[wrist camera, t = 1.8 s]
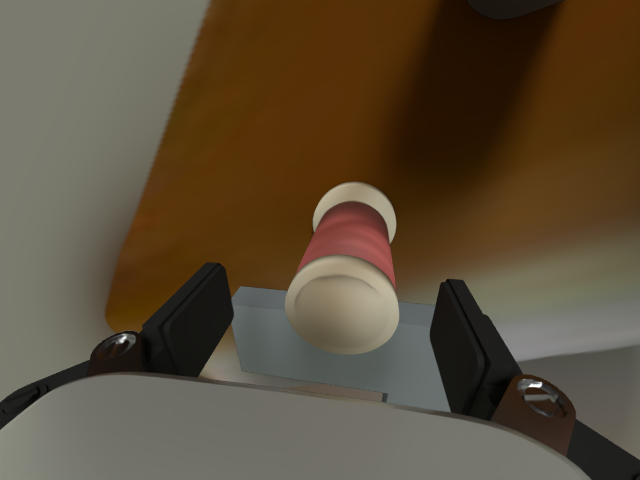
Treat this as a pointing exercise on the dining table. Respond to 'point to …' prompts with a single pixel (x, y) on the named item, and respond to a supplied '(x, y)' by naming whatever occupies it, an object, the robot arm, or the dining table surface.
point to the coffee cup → (508, 7)
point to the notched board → (340, 369)
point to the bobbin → (347, 273)
